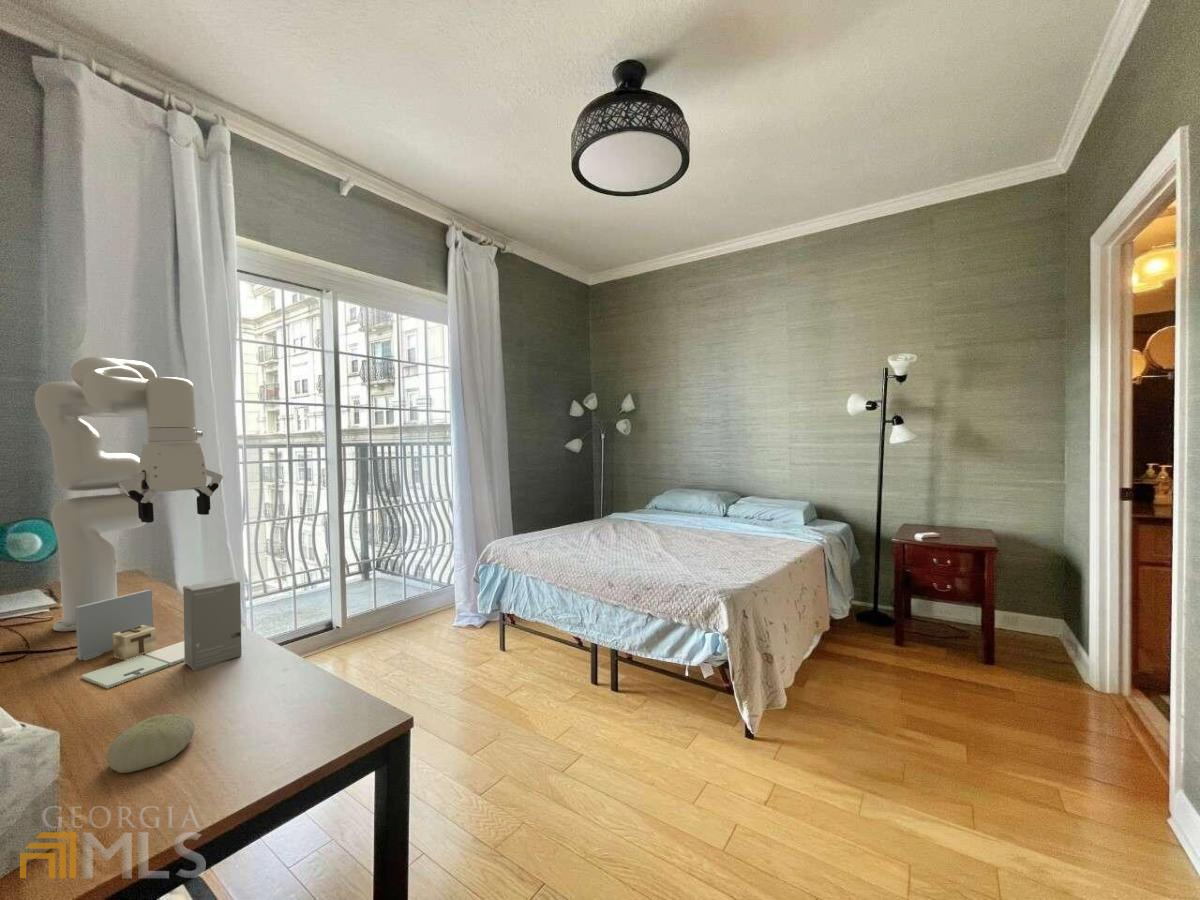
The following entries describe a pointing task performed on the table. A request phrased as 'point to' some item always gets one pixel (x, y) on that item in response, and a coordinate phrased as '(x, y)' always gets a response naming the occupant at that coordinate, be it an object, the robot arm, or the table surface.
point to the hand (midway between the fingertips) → (176, 518)
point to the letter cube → (134, 642)
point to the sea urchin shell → (150, 742)
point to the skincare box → (212, 622)
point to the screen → (110, 621)
